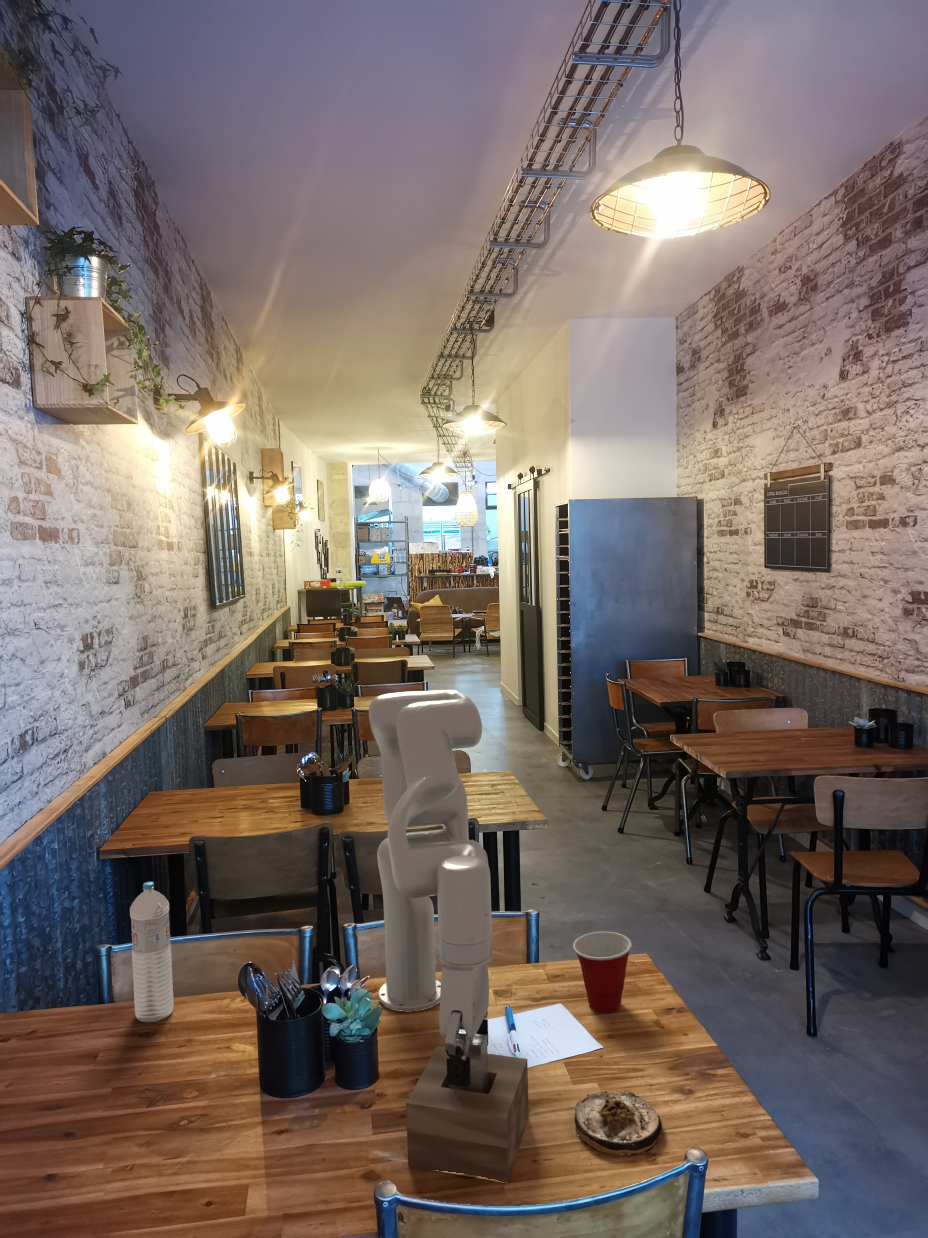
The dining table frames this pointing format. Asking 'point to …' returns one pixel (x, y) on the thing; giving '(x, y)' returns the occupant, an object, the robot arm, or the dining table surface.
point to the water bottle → (151, 955)
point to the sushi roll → (617, 1123)
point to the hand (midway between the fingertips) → (468, 1064)
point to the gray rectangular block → (476, 1064)
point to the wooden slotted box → (468, 1119)
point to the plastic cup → (603, 968)
